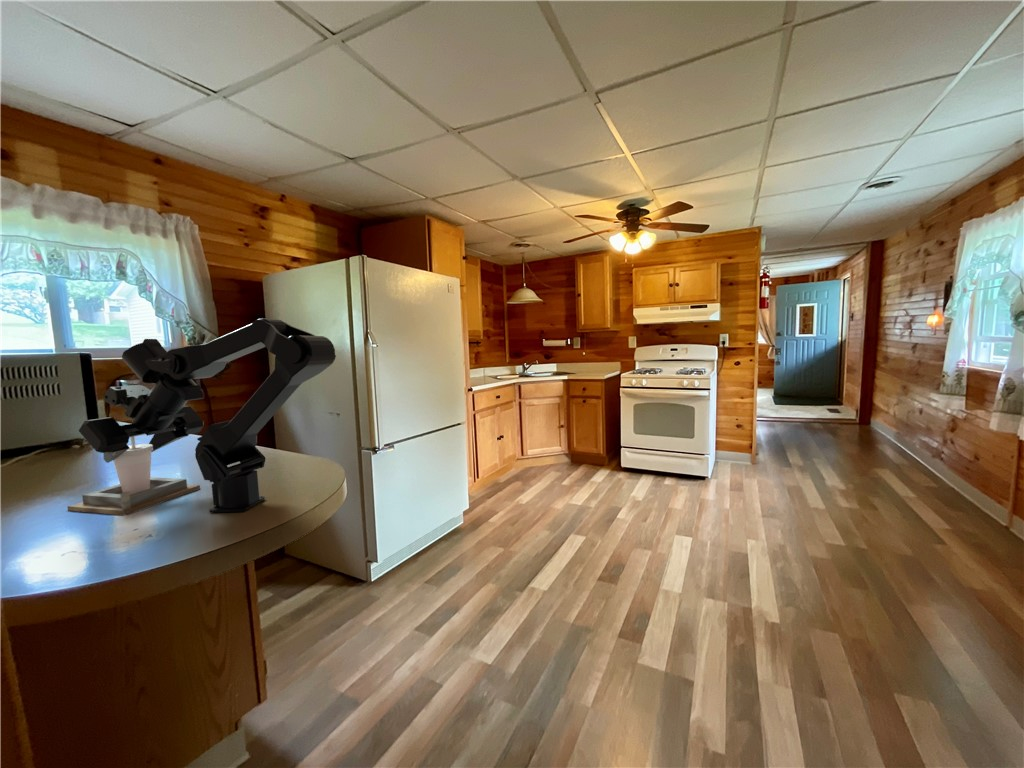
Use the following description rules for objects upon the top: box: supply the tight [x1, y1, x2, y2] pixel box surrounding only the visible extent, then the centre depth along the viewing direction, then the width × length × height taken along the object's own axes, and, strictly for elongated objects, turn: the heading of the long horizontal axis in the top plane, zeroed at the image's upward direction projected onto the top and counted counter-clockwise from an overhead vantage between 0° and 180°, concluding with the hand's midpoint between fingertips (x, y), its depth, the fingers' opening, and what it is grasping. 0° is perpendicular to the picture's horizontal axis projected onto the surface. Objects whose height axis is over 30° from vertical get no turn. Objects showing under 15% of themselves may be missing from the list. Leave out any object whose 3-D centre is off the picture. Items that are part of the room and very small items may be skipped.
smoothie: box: [112, 436, 153, 495], centre depth 81 cm, size 6×6×14 cm
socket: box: [67, 476, 201, 516], centre depth 82 cm, size 14×14×4 cm
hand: (128, 455), depth 82 cm, fingers open, 7 cm apart
